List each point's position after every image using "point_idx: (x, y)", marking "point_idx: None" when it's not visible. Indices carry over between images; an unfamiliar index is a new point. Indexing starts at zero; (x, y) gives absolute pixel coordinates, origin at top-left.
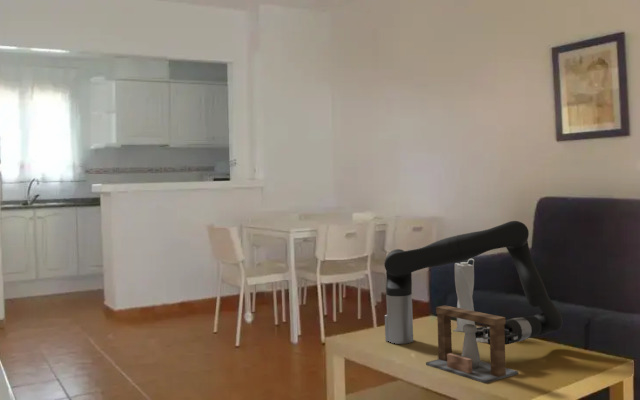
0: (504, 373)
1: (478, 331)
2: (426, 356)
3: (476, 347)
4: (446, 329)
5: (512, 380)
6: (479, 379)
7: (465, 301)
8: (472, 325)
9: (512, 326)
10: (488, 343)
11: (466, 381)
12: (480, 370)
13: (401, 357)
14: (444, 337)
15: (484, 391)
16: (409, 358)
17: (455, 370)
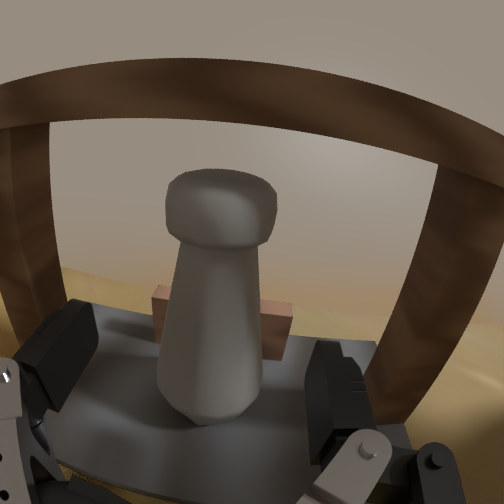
0: None
1: (338, 452)
2: (463, 402)
3: (165, 317)
4: (420, 267)
5: (10, 357)
6: (104, 307)
7: None
8: (194, 172)
9: None
10: (94, 333)
11: (142, 301)
12: (138, 375)
13: (467, 347)
14: (398, 298)
15: (72, 271)
16: (454, 355)
17: None
